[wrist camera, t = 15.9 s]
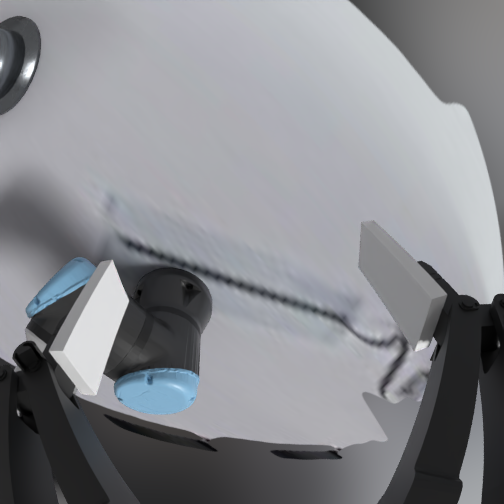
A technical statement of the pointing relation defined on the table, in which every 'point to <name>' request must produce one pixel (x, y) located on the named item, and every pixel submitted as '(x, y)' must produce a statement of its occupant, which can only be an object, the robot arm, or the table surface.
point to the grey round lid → (17, 59)
